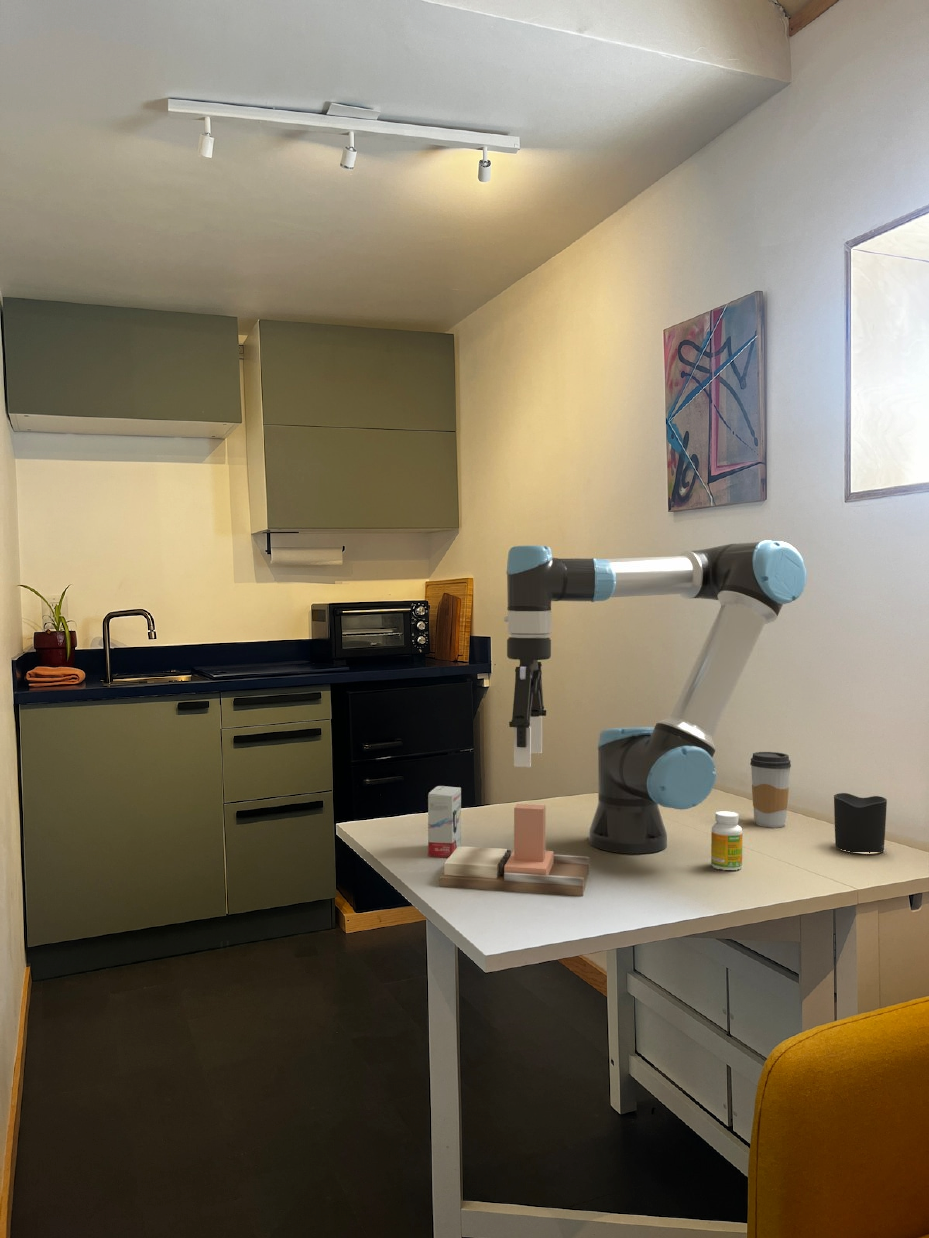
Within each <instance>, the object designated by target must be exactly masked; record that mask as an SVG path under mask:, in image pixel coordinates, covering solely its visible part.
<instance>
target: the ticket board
mask: <svg viewBox="0 0 929 1238" xmlns="http://www.w3.org/2000/svg"><path fill="white" fill-rule="evenodd" d="M511 854H512V850H511V849H508V848H499V847H498V848H496V847H479V846H463V845H461V846H458V847H457V848H456V850H455V851H454V852H453V853H452V854H451V856H450V857H447V859H446V860H445V862H444V864H443V865H444V866H443V867H444V868H443V869H444V871H443V872H442V873H441V875H440V876H439V880H438V881H439V884H438V885H439V887H446V888H448V887H450V888H460V889H461V888H463V889H475V890H476V889H477V890H490V891H492V890H493V891H502V892H503V891H505V892H520V893H533V894H534V893H535V894H548V895H560V896H562V895H563V896H575V897H576V896H578V897H583V896H584V892H585V888H586V886H587V881H588V877H589V874H590V856H584V855H583V856H582V855H566V854H554V863H553V865H552V868H551V870H550V872H549V875H538V874H523V873H508V872H505V874H504V866H505V864H506V863H507V861H508V859H509V858H510V856H511Z"/></svg>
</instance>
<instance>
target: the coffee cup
mask: <svg viewBox="0 0 929 1238" xmlns="http://www.w3.org/2000/svg"><path fill="white" fill-rule="evenodd" d="M791 762H792V761H791V760H790V757H789V755H788V754H787V753H783V752H778V751H777V752H776V751H757V752H753V753H752V757H750V763H749V764H750V769H751V792H752V807H753V821H754V822H755V825H757V826H759V827H763V828H772V829H774V828H777V829H778V828H783V827H784V826H785V824H786V823H787V812H788V802H789V801H788V800H789V789H790V787H789V785H790V775H791V771H790V770H791V767H792V765H791Z"/></svg>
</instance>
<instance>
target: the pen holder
mask: <svg viewBox="0 0 929 1238" xmlns="http://www.w3.org/2000/svg"><path fill="white" fill-rule="evenodd" d="M887 804H888V799H887V798H886V797H883V796H879V795H873V796H868V797H859V796H856V795H854V794H851V793H847V792H841V793H839V792H838V793H836V794H834V795H833V810H834V812H833V813H834V818H833V819H834V842H835V847H836V848H837V847H838V848H839V849H838V848H837V849H838V850H840V849H842V850H846V851H850V852H869V853H870V852H881V851H882V852H883V851H884V850H885V838H886V823H887V808H888V807H887ZM842 850H841V851H842Z"/></svg>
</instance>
